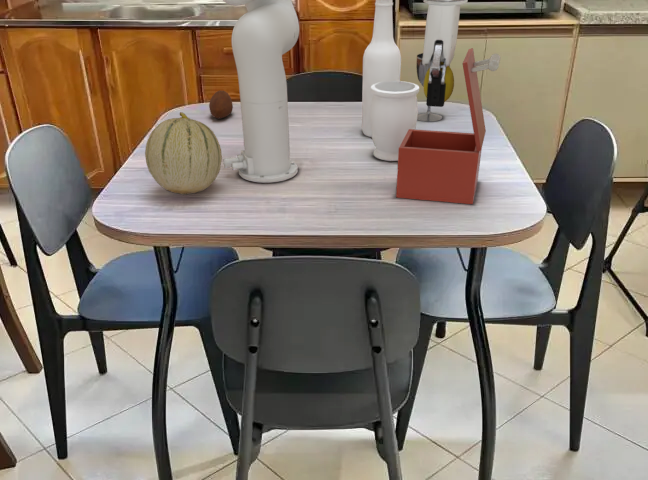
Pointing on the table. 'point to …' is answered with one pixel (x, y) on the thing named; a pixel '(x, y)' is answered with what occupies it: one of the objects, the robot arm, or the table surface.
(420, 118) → the wine glass
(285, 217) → the table surface
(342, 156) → the table surface
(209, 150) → the cantaloupe
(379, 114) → the jar
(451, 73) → the lemon
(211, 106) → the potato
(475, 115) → the bin lid
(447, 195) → the bin
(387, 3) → the alcohol
